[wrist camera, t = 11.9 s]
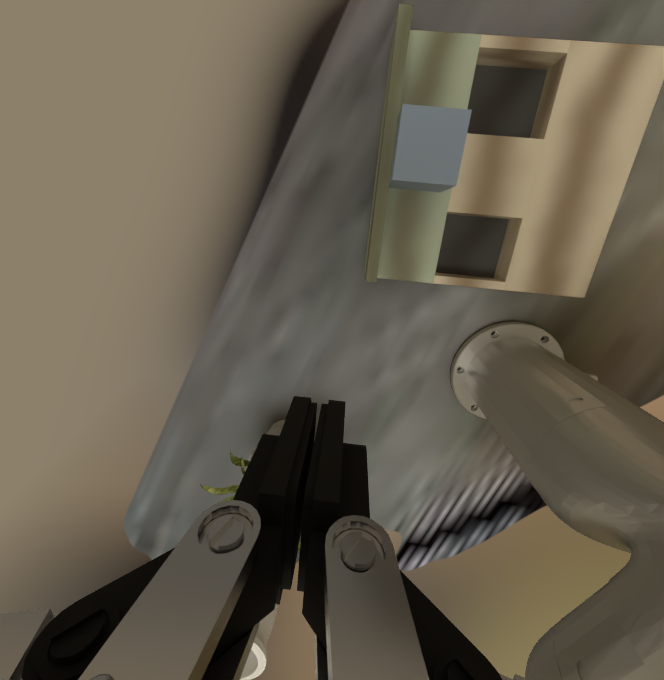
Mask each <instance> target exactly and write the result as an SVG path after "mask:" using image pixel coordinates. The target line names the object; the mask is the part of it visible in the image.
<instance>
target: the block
mask: <svg viewBox="0 0 664 680" xmlns="http://www.w3.org/2000/svg"><path fill="white" fill-rule="evenodd" d="M471 112H472V110H470V109H458V108H446V107H434V106H422V105H410V104H403V105H402V108H401V110H400V113H399V116H398V124H397V131H396V139H395V146H394V154H393V161H392V169H391V176H390V184H389V188H395V189H405V190H416V191H427V192H438V193H441V192H443V191H445V190H447V189H450V188H452V187H454V186H456V185H457V180H458V175H459V170H460V165H461V160H462V156H463V151H464V146H465V141H466V136H467V131H468V126H469V121H470V117H471Z"/></svg>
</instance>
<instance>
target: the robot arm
mask: <svg viewBox="0 0 664 680" xmlns="http://www.w3.org/2000/svg"><path fill="white" fill-rule="evenodd" d="M492 332H493V333H492ZM491 333H492V334H491ZM459 367H460V368H459ZM457 368H459V369H457ZM450 380H451V386H452V389H453V392H454V394H455V396H456V397H457V399H458V401H459V402H460V403H461V405H462V406H463V407H464V408H465V409H466V410H468V411H469V412H470V413H472V414H474V415H476V416H478V417H480V418H484V419H487V420H488V421H489V423H490V424H491V425H492V427H493V428H494V430H495V431H496V433H497V434H498V436H499V437H500V438H501V440H502V441H503V443H504V444H505V446H506V447H507V449H508V450H509V452H510V453H511V454H512V456H513V457H514V459H515V460H516V462H517V463H518V465H519V466H520V467H521V469H522V470H523V472H524V473H525V475H526V476H527V478H528V479H529V480H530V482H531V483H532V485H533V486H534V488H535V489H536V490H537V492H538V493H539V495H540V496H541V497H542V499H543V500H544V502H545V503H546V504H547V506H548V507H549V508H550V509H551V511H552V512H553V513H554V514H555V515H556V516H557V517H558V518H559V519H561V520H562V521H563V522H564V523H566V524H567V525H568V526H569V527H571V528H572V529H574V530H575V531H577V532H579V533H581V534H583V535H584V536H587V537H588V538H590V539H593V540H595V541H597V542H600V543H602V544H605V545H607V546H610V547H613V548H616V549H619V550H622V551H625V552H628V553H631V557H630V560H629V562H628V563H627V564H626V566H624V567H623V568H622V569H621V570H620V571H619V572H618V573H617V574H616V575H614V576H613V577H612V578H611V579H610V580H609V582H608V583H607V584H606V585H604V586H603V587H602V588H601V589H600V590H598V591H597V592H595V593H594V594H593V595H592V596H590V597H589V598H588V599H586V600H585V601H584V602H583V603H581V604H580V605H579V606H577V607H576V608H575V609H574V610H572V611H571V612H570V613H569V614H567V615H566V616H565V617H563V618H562V619H561V620H560V621H559V622H558V623H557V624H555V625H554V626H553V627H552V628H550V629H549V630H548V631H547V632H546V633H545V634H544V635H543V636H542V637H541V638H540V639H539V640H538V642H537V643H536V644H535V646H534V647H533V649H532V651H531V653H530V655H529V658H528V661H527V666H526V671H525V678H523V677H521V676H519V675H517V674H515V676H514V677H513V679H510V678H508V677H506V676H504V675H501V674H499V673H498V672H497V671H496V669H495V668H494V667H493V666H492V664H491V663H490V662H489V661H488V659H487V658H486V657H485V656H484V655H483V654H482V653H481V652H480V651H479V650H478V649H477V648H476V647H475V646H474V645H473V644H472V643H471V642H470V641H469V640H468V639H467V638H466V637H465V636H464V635H463V634H462V633H461V632H460V631H459V630H458V629H457V628H456V627H455V626H454V625H453V624H452V623H451V622H450V621H449V620H448V619H447V618H446V617H445V615H444V614H443V613H442V612H441V611H440V610H439V609H438V608H437V607H436V606H435V605H434V604H433V603H432V602H431V601H430V600H429V599H428V598H427V597H426V596H425V595H424V594H423V593H422V592H421V591H420V590H419V589H418V588H417V587H416V586H415V585H414V584H413V583H412V582H411V581H410V580H409V579H408V578H407V577H406V576H405V575H404V574H403V573H402V572H401V571H400V570H399V566H398V562H397V559H396V555H395V551H394V548H393V544H392V542H391V540H390V537H389V535H388V534H387V532H386V531H385V530H384V529H383V527H382V526H380V525H379V524H378V523H376V522H375V521H374V520H372V519H370V512H369V491H368V471H367V450H366V446H364V445H355V444H347V443H343V434H344V417H345V402H343V401H334V400H329V403H328V404H322V406H321V411H320V416H319V421H318V426H317V432H316V437H315V442H314V436H315V423H316V410H317V403H312V402H311V398H307V397H298V396H294V398H293V401H292V403H291V406H290V409H289V411H288V414H287V417H286V420H285V422H284V425H283V428H282V430H281V433H280V436H279V435H270V434H263V435H262V437H261V439H260V441H259V443H258V446H257V448H256V450H255V452H254V454H253V457H252V459H251V461H250V463H249V465H248V468H247V470H246V472H245V474H244V476H243V479H242V481H241V483H240V485H239V487H238V490H237V492H236V494H235V496H234V498H233V500H229V501H222V502H220V503H217V504H214V505H212V506H211V507H209V508H208V509H206V510H205V511H203V512H202V513H201V514H200V516H199V517H198V518H197V519H196V520H195V521H194V523H193V524H192V525H191V527H190V528H189V529H188V531H187V532H186V534H185V535H184V536H183V538H182V539H181V540H180V542H179V543H178V544H177V546H176V547H175V548H173V549H172V550H170V551H168V552H166V553H164V554H163V555H161V556H159V557H157V558H155V559H153V560H152V561H150V562H148V563H146V564H144V565H142V566H141V567H139V568H137V569H135V570H133V571H132V572H130V573H128V574H126V575H124V576H122V577H120V578H119V579H117V580H115V581H113V582H111V583H109V584H108V585H106V586H104V587H102V588H100V589H98V590H97V591H95V592H93V593H91V594H89V595H87V596H86V597H84V598H82V599H80V600H78V601H77V602H75V603H74V604H72V605H71V606H69V607H67V608H66V609H64V610H63V611H62V612H60V613H52V610H51V608H44V609H36V610H28V611H20V612H12V613H4V614H0V680H240V678H241V675H242V672H243V670H244V667H245V664H246V662H247V659H248V656H249V654H250V651H251V648H252V645H253V643H254V640H255V637H256V635H257V632H258V627H259V623H260V621H261V620H262V619H263V618H265V617H266V616H267V615H268V614H270V613H271V612H272V611H273V610H274V609H275V604H280V600H281V595H282V590H283V589H289V590H290V589H291V585H292V580H293V574H294V569H295V563H296V558H297V552H298V547H299V541H300V535H301V543H300V557H299V572H298V586H297V591H303V592H304V597H303V609H302V614H303V615H304V617H305V619H306V620H307V622H308V623H309V625H310V626H311V628H312V629H313V631H314V632H315V680H664V422H662V421H661V420H659V419H657V418H656V417H654V416H653V415H651V414H649V413H648V412H646V411H644V410H643V409H641V408H640V407H638V406H637V405H635V404H633V403H632V402H630V401H629V400H627V399H625V398H624V397H622V396H621V395H619V394H617V393H616V392H614V391H613V390H611V389H610V388H608V387H606V386H605V385H603V384H602V383H600V382H598V378H597V376H596V375H595V374H591V373H584V372H582V371H581V370H579V369H578V368H576V367H574V366H573V365H571V364H570V363H568V362H567V361H565V358H564V354H563V350H562V348H561V347H560V345H559V343H558V342H557V341H556V339H555V338H554V337H553V336H552V335H550V334H549V333H548V332H546V331H545V330H543V329H541V328H539V327H537V326H535V325H532V324H529V323H525V322H516V321H512V322H502V323H498V324H494V325H491V326H489V327H486V328H484V329H482V330H480V331H479V332H477V333H475V334H474V335H472V336H471V337H470V338H469V339H468V340H467V341H466V342H465V343H464V344H463V345H462V346H461V348H460V349H459V350H458V352H457V354H456V356H455V358H454V360H453V363H452V366H451V373H450Z"/></svg>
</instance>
